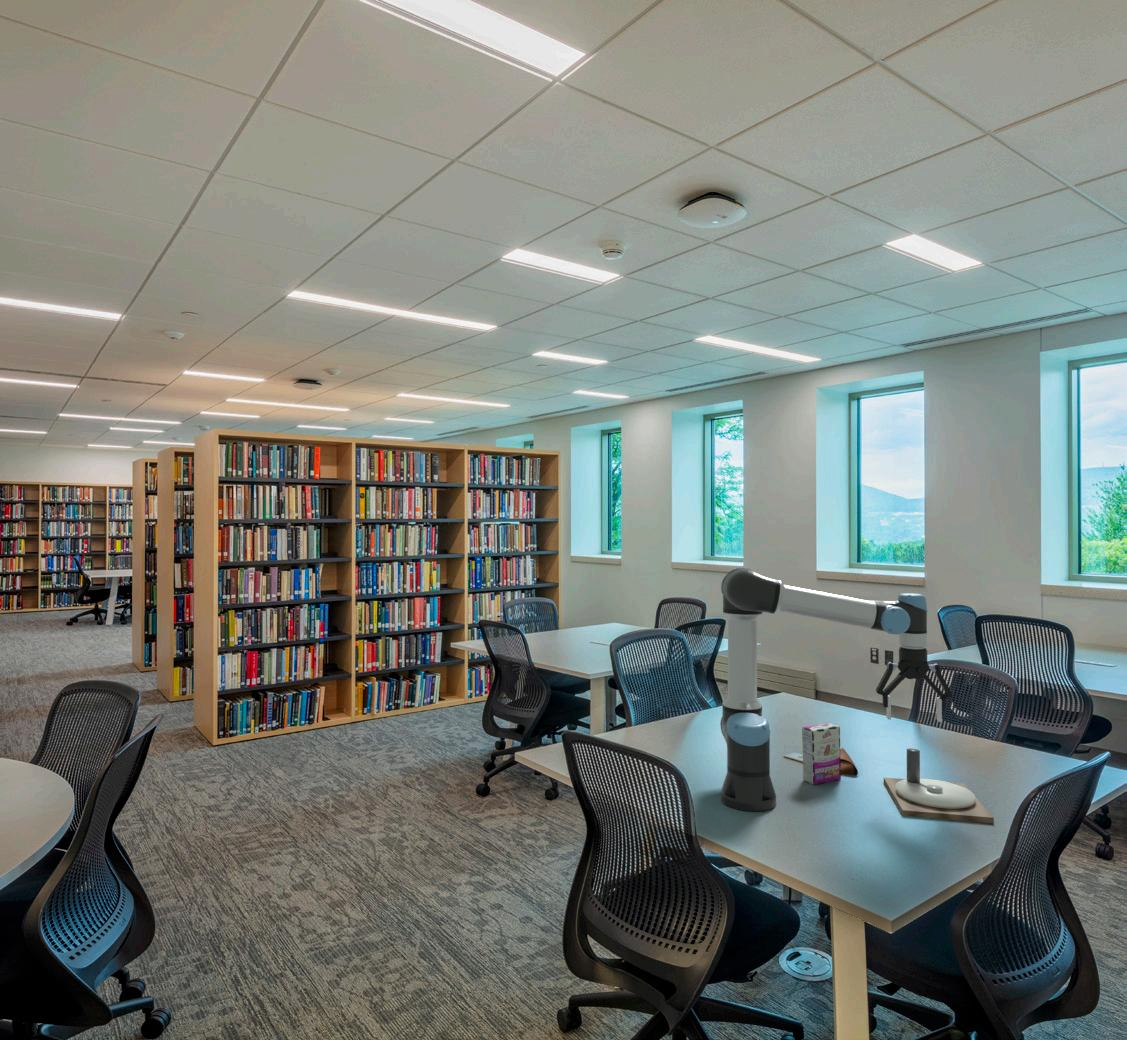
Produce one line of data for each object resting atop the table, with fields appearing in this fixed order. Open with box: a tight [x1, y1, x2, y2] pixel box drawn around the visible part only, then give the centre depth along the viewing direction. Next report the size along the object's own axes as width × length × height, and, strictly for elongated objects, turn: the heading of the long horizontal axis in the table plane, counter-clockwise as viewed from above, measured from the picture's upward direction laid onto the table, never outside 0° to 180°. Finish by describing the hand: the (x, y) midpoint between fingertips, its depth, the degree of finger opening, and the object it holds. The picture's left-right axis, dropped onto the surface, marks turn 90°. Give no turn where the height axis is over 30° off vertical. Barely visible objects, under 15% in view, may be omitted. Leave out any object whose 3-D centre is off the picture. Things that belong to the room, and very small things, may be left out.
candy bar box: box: [801, 722, 842, 786], centre depth 223 cm, size 11×5×16 cm, turn 115°
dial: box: [896, 748, 976, 809], centre depth 206 cm, size 20×20×10 cm
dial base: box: [883, 777, 995, 824], centre depth 206 cm, size 22×26×2 cm
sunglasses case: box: [840, 747, 859, 777], centre depth 236 cm, size 18×7×7 cm
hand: (913, 719), depth 214 cm, fingers open, 13 cm apart
